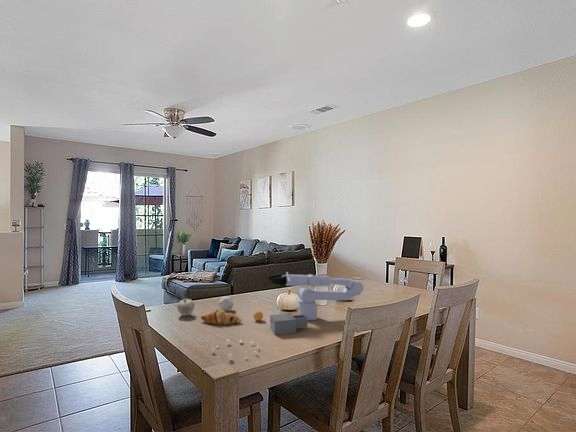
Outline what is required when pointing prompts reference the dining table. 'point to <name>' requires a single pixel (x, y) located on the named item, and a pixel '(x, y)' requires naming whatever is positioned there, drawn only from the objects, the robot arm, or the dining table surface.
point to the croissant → (221, 318)
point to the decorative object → (185, 307)
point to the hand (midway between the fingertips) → (270, 279)
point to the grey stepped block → (287, 323)
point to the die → (226, 303)
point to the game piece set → (231, 354)
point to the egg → (258, 315)
